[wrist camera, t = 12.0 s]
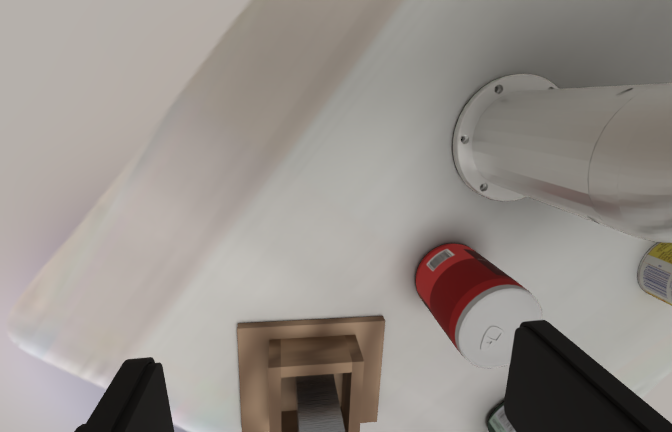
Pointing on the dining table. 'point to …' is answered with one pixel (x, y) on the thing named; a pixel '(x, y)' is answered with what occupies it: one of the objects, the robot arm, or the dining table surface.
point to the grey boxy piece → (318, 404)
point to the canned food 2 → (657, 272)
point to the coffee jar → (499, 421)
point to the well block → (308, 368)
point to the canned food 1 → (474, 303)
